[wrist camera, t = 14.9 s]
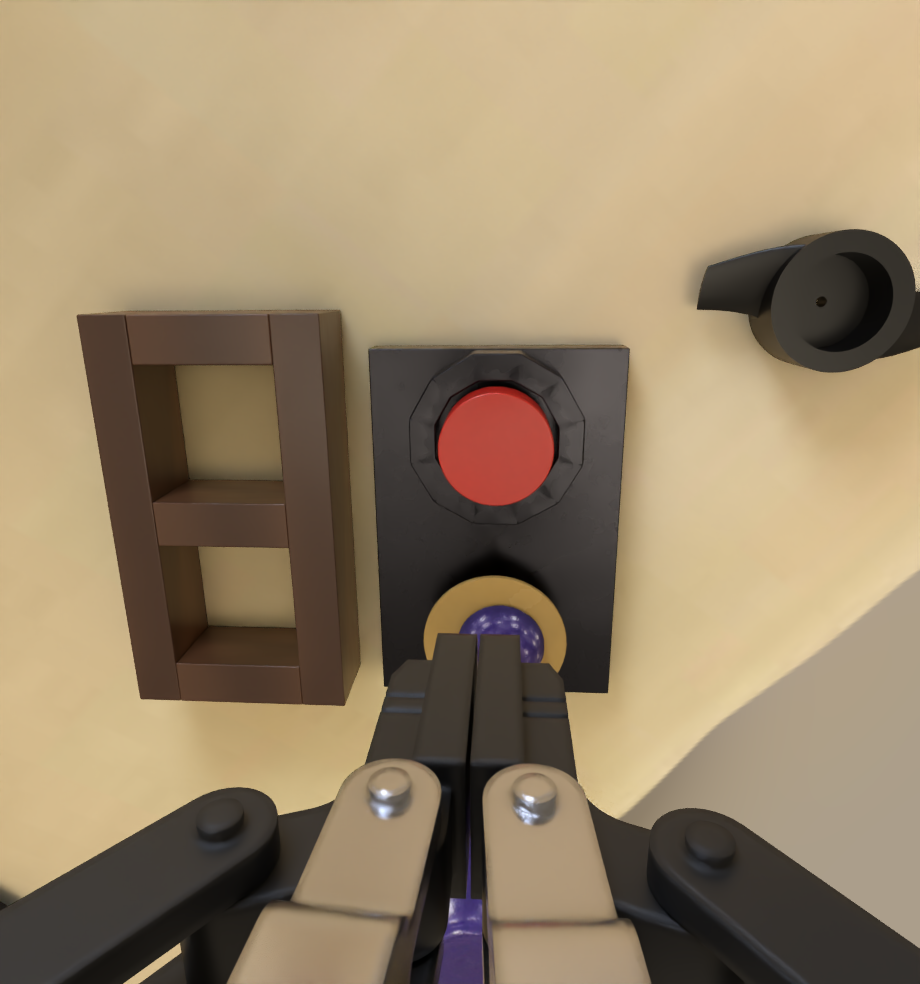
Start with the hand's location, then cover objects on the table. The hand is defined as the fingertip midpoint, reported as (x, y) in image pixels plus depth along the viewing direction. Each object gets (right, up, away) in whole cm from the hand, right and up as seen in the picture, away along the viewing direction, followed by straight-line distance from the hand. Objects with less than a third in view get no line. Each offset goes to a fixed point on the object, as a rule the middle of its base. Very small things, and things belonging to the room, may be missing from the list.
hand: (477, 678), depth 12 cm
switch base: (+2, +2, +23) cm, 23 cm away
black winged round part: (+16, +12, +19) cm, 28 cm away
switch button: (+1, +6, +19) cm, 20 cm away
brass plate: (+1, -4, +21) cm, 22 cm away
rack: (-11, +3, +24) cm, 26 cm away
